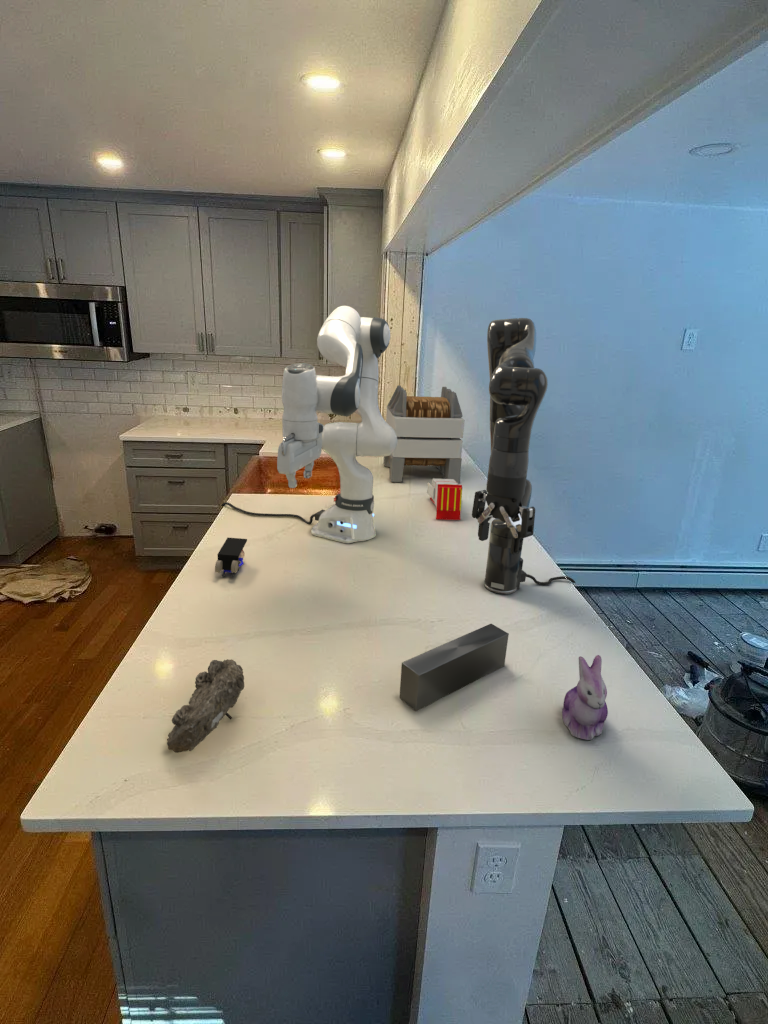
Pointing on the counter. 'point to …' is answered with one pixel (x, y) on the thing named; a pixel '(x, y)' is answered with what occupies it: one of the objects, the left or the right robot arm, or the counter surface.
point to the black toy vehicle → (230, 556)
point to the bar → (452, 666)
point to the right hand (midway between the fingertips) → (498, 546)
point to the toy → (446, 498)
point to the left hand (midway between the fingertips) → (300, 482)
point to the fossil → (206, 705)
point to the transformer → (425, 433)
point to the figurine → (586, 702)
